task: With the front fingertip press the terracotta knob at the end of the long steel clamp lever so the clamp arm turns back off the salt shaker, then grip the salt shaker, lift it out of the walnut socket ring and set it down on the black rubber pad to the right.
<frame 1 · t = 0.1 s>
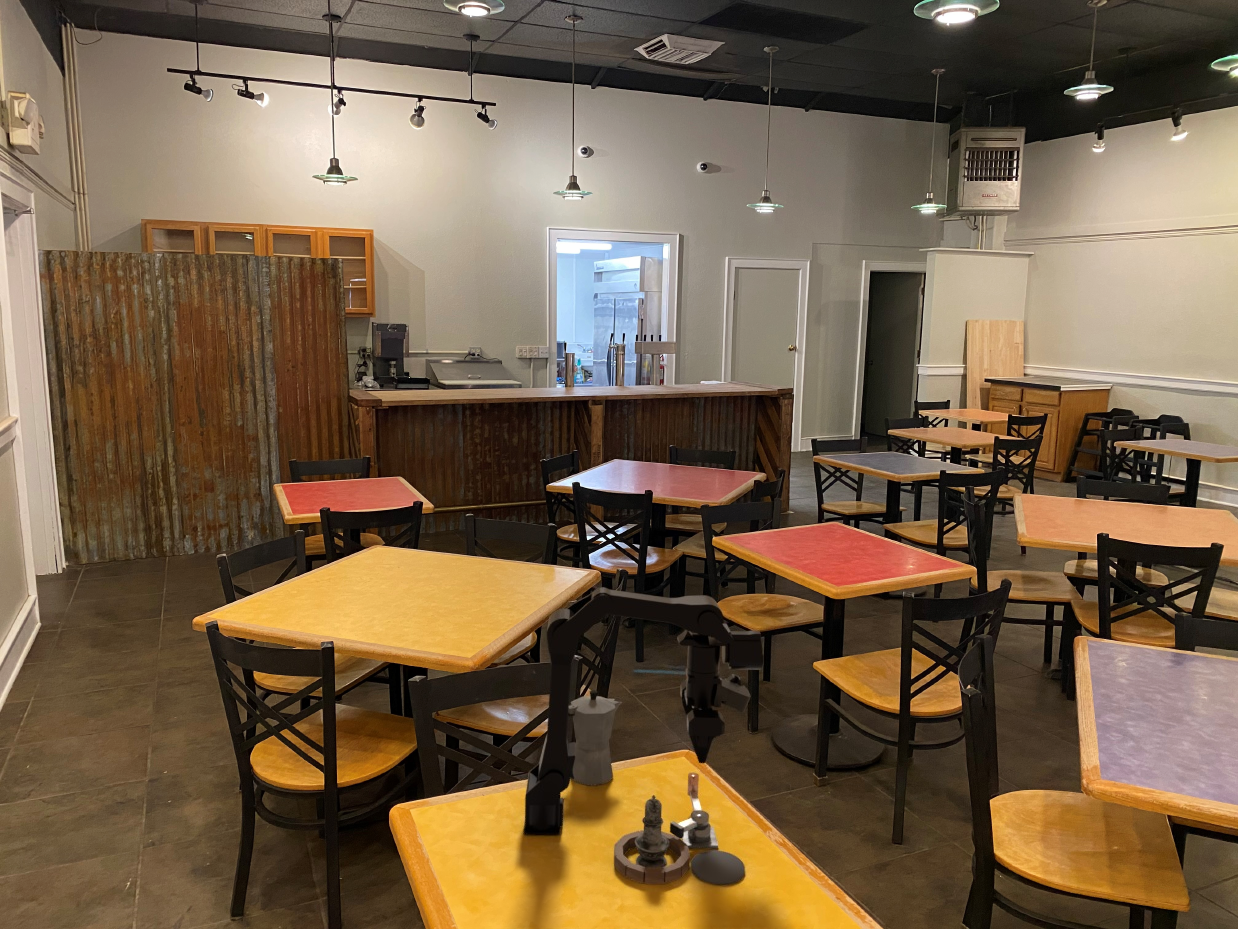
hand: (699, 751, 156), 15 cm above the table, tool pointing down, fingers open, 9 cm apart
pivot block: (698, 839, 154), on the table
clamp: (686, 804, 156), point 5 cm above the table, hinge at 0.0°
socket ring: (651, 861, 147), on the table
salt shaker: (651, 862, 147), resting in socket ring
coffeepot: (586, 777, 176), on the table
pad: (717, 868, 145), on the table
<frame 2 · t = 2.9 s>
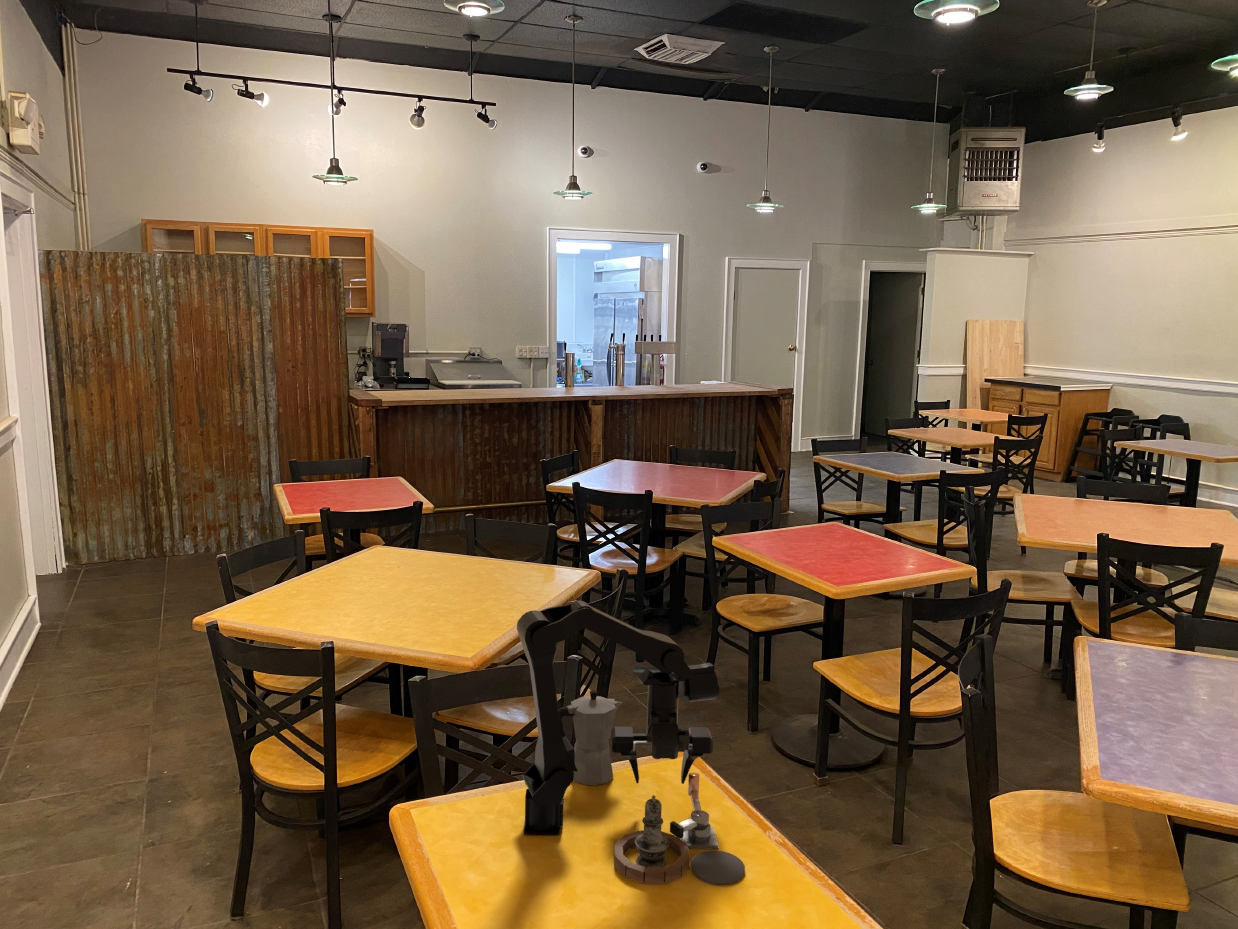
hand: (659, 782, 164), 5 cm above the table, tool pointing down, fingers open, 8 cm apart
clamp: (687, 804, 156), point 5 cm above the table, hinge at -0.6°, touching gripper
everything else where it was.
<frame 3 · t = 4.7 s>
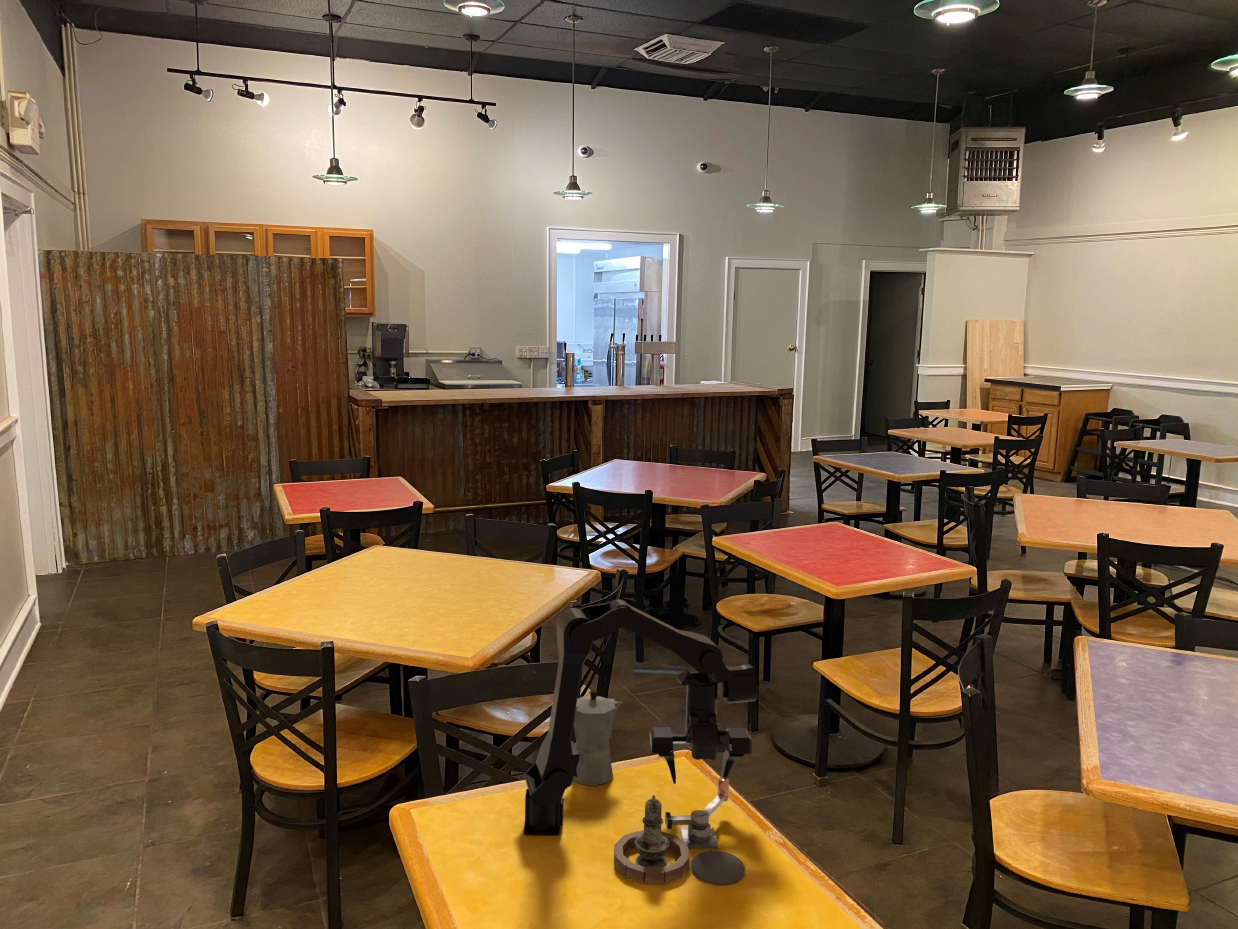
hand: (698, 783, 164), 5 cm above the table, tool pointing down, fingers open, 9 cm apart
clamp: (697, 802, 157), point 5 cm above the table, hinge at -33.2°
everything else where it was.
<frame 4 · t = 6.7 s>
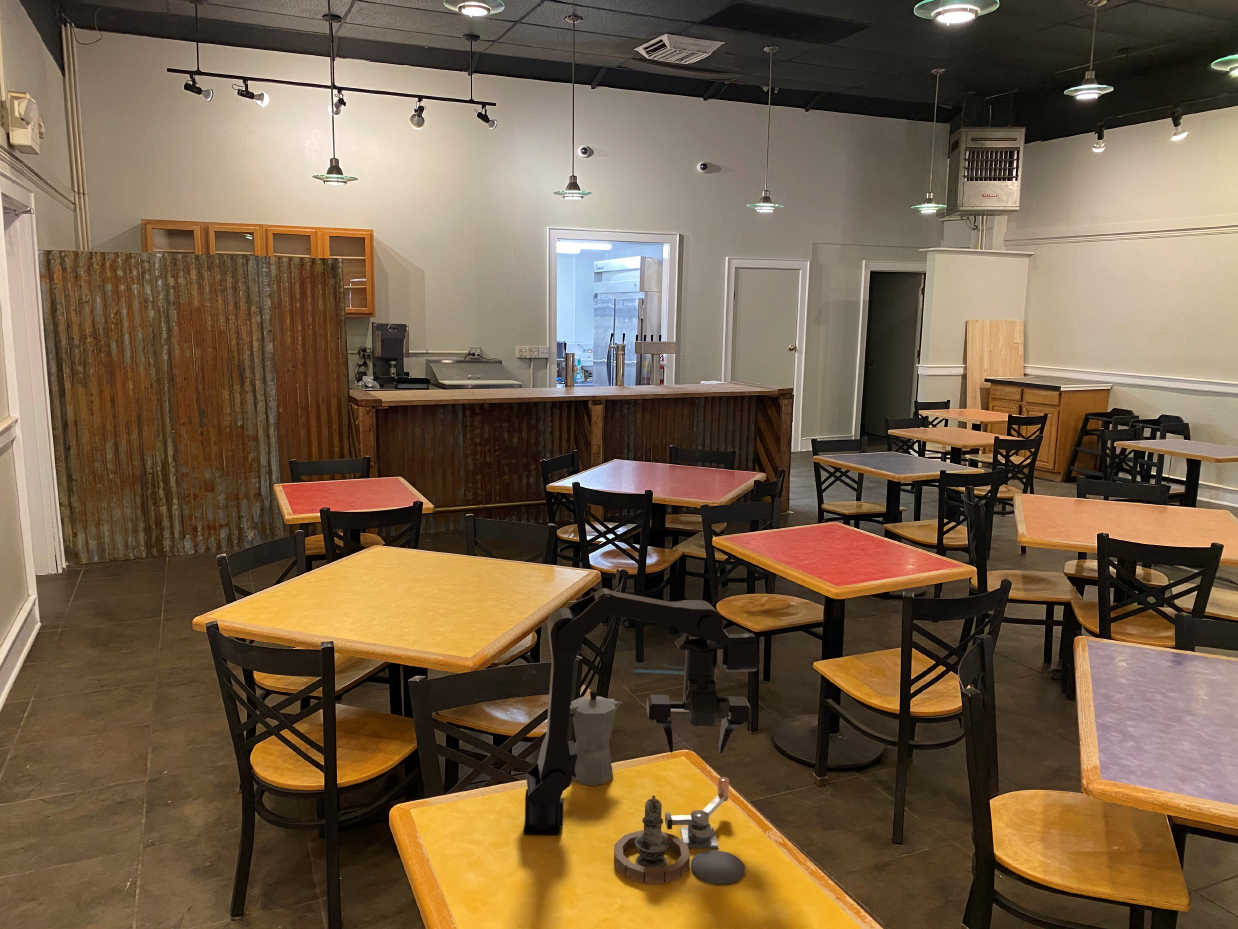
hand: (695, 752, 160), 13 cm above the table, tool pointing down, fingers open, 9 cm apart
nothing on the table moved.
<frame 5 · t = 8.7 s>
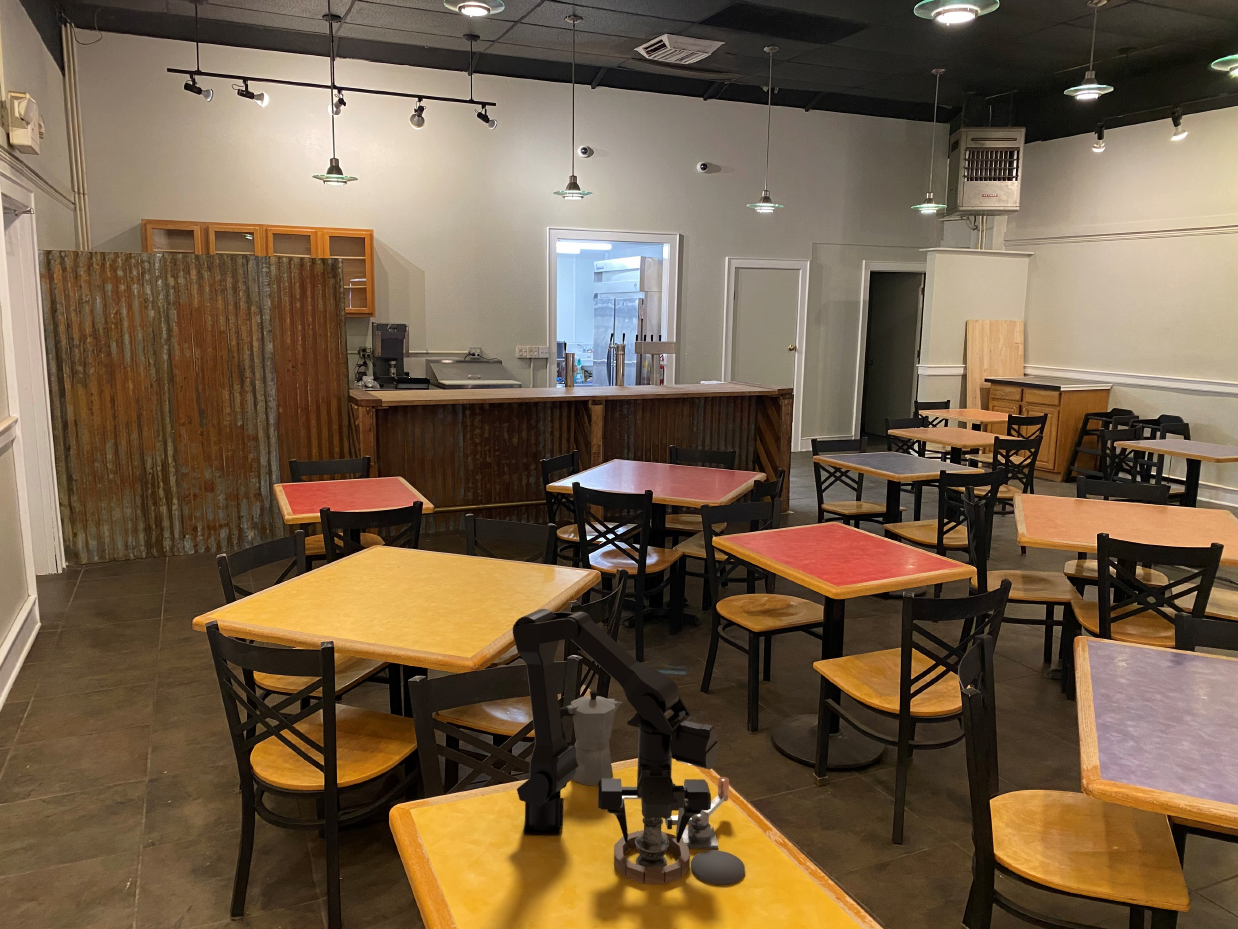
hand: (652, 841, 146), 4 cm above the table, tool pointing down, fingers closed on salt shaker, 8 cm apart
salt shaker: (651, 862, 147), resting in socket ring, touching gripper
everything else where it was.
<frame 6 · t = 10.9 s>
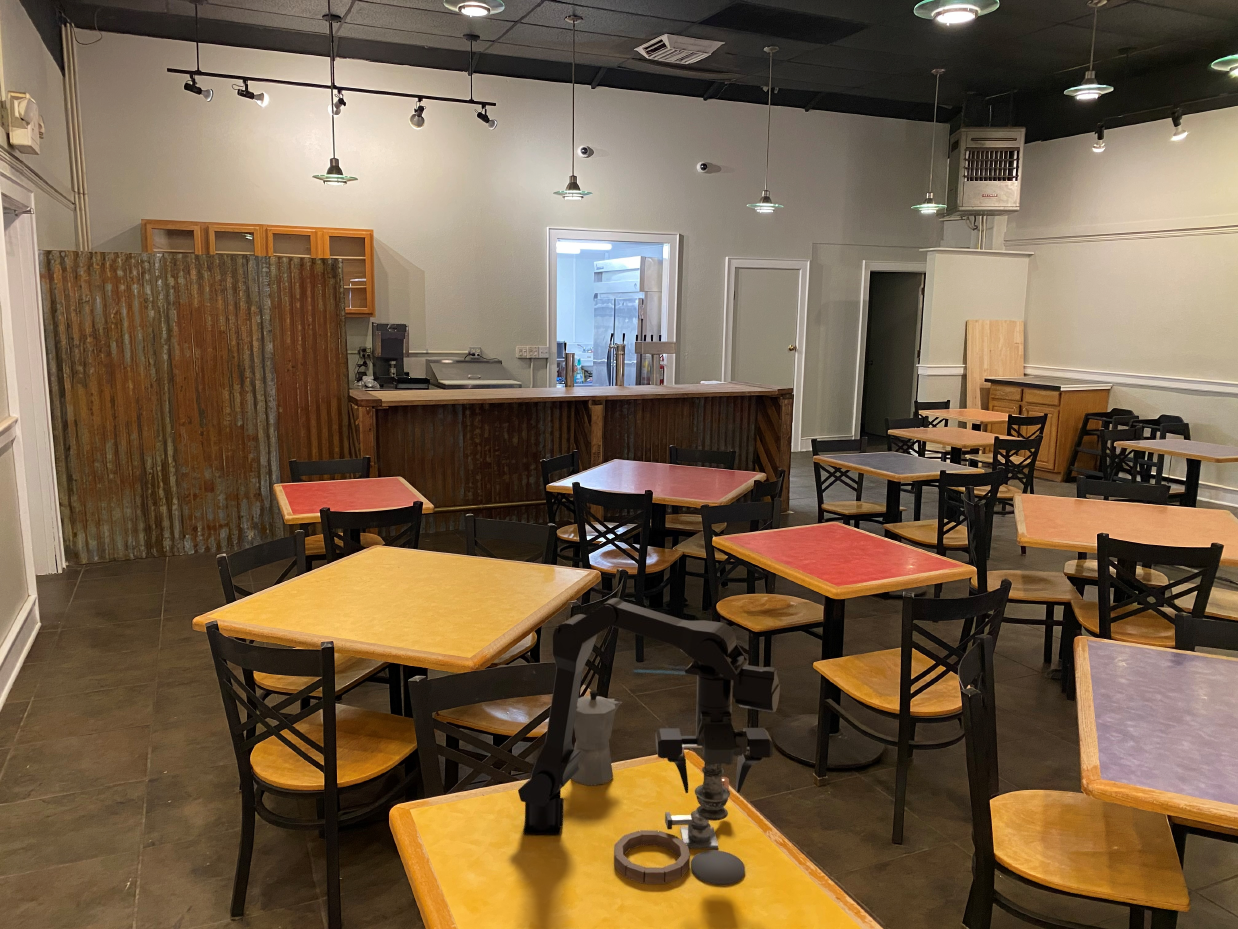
hand: (712, 791, 144), 14 cm above the table, tool pointing down, fingers closed on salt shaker, 8 cm apart
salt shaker: (711, 813, 144), point 10 cm above the table, touching gripper
everything else where it was.
when the fingers open (5 cm above the table, at t = 13.1 s): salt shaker drops 1 cm, resting on pad.
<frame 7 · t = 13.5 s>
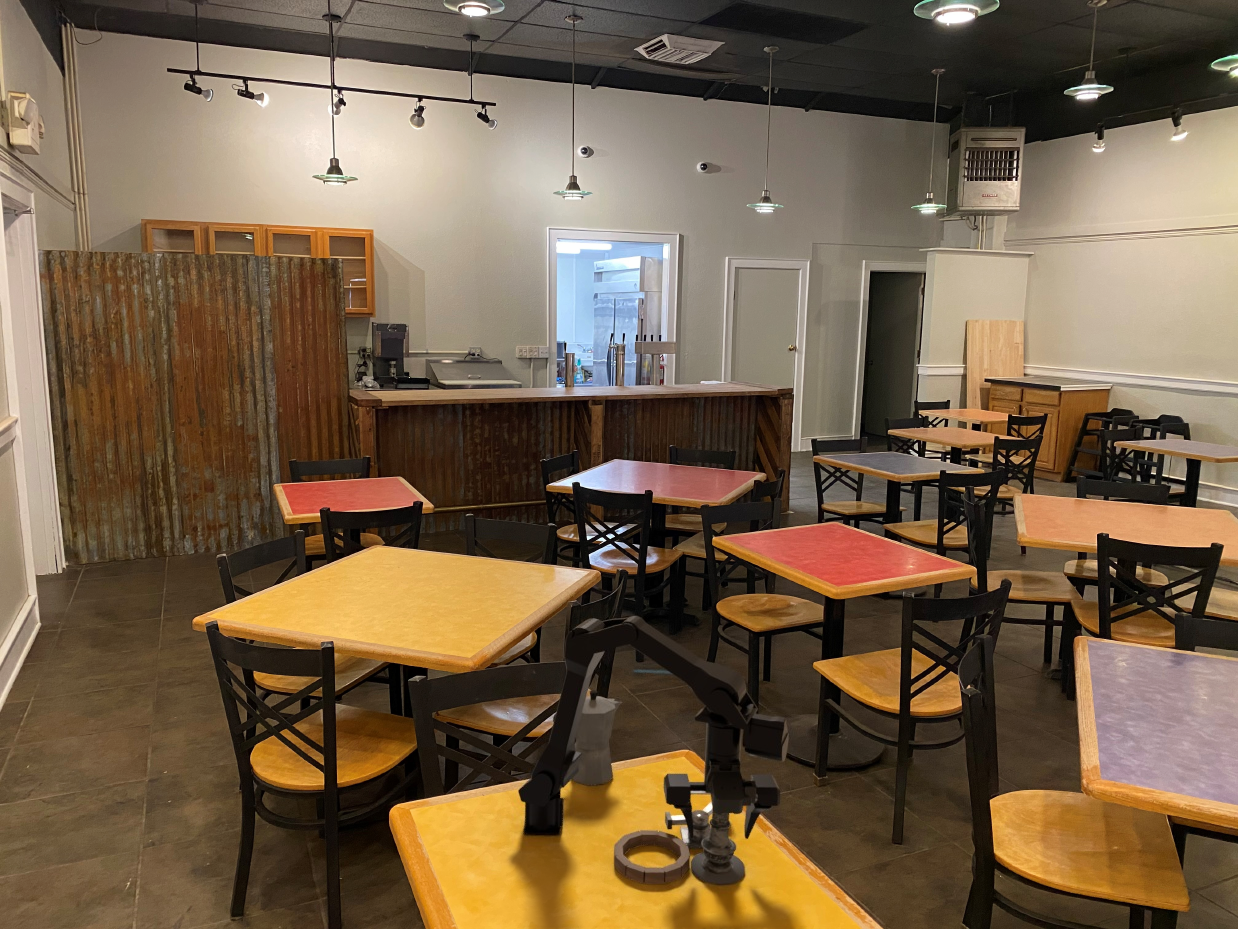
hand: (718, 837, 145), 6 cm above the table, tool pointing down, fingers open, 9 cm apart
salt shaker: (717, 866, 145), resting on pad
everything else where it was.
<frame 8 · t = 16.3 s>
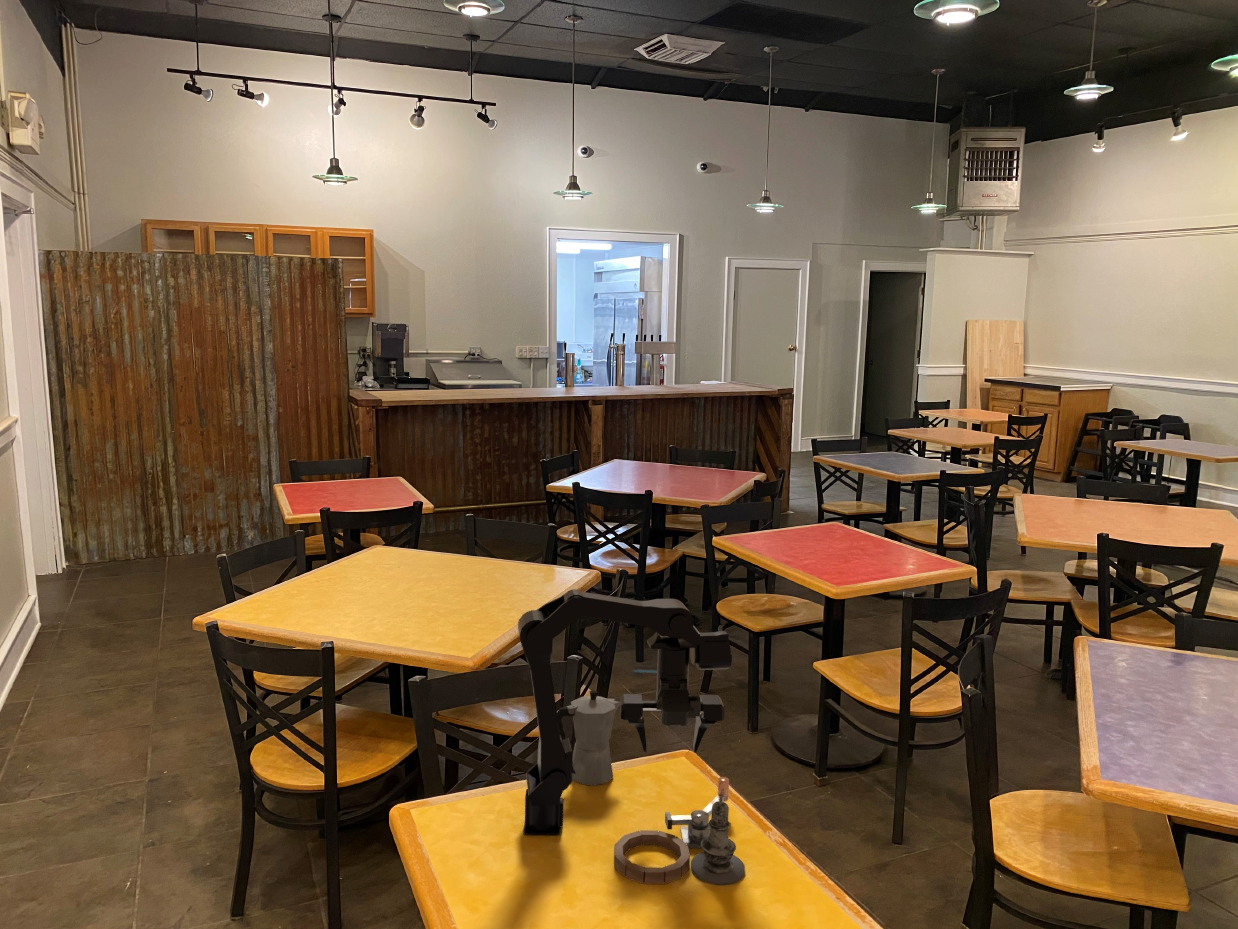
hand: (669, 751, 159), 13 cm above the table, tool pointing down, fingers open, 9 cm apart
nothing on the table moved.
at the end: clamp at -33° (first picture: +0°); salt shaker inside the target area on the pad (0.0 cm from its centre), point 0.4 cm above the pad's base; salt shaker tilted 0° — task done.
